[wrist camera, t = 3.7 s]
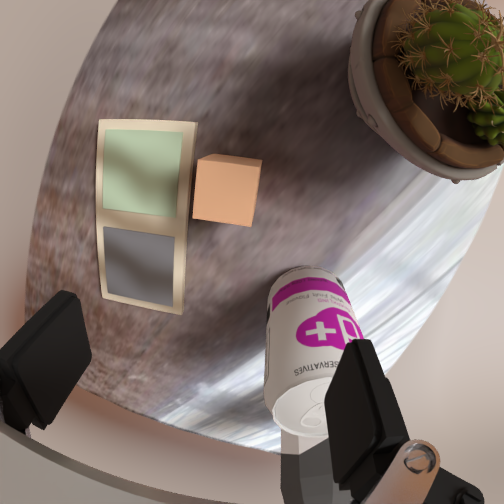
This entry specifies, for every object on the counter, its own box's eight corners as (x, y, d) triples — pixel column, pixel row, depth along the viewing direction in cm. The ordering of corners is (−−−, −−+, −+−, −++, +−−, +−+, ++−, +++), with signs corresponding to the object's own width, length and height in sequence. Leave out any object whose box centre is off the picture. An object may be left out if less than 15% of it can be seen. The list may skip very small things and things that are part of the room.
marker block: (213, 153, 27) (197, 159, 21) (262, 159, 27) (259, 167, 21) (208, 200, 28) (192, 218, 23) (255, 207, 28) (251, 226, 23)
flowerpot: (456, 38, 19) (595, 3, 1) (455, 174, 25) (607, 245, 7) (325, 5, 20) (392, -133, 2) (324, 157, 26) (434, 220, 8)
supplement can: (288, 250, 30) (300, 354, 16) (358, 280, 30) (406, 385, 17) (255, 313, 33) (243, 426, 19) (320, 337, 34) (339, 447, 20)
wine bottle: (299, 413, 39) (302, 606, 12) (268, 384, 37) (255, 611, 9) (349, 391, 37) (381, 596, 9) (322, 358, 35) (350, 608, 7)
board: (104, 119, 25) (98, 119, 24) (198, 122, 25) (194, 122, 24) (106, 293, 33) (101, 298, 32) (183, 310, 33) (181, 316, 32)
